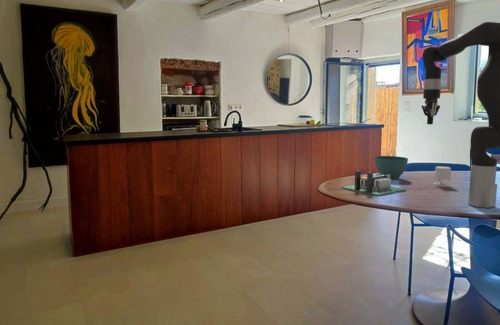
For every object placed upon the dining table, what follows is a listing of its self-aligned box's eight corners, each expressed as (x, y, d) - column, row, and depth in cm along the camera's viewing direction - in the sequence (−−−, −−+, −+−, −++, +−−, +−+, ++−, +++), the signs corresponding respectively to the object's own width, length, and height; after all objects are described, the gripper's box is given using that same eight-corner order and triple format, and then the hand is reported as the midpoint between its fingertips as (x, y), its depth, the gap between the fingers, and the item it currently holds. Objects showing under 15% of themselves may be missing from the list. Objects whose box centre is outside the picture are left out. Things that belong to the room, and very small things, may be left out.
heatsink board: (405, 190, 196) (406, 171, 195) (377, 196, 184) (378, 175, 182) (369, 184, 214) (370, 166, 213) (342, 188, 202) (342, 169, 200)
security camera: (450, 187, 205) (451, 168, 204) (435, 186, 206) (436, 168, 205) (446, 185, 211) (447, 166, 210) (432, 184, 213) (433, 166, 211)
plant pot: (408, 177, 236) (409, 156, 234) (405, 182, 220) (406, 160, 218) (377, 174, 244) (378, 155, 243) (371, 179, 228) (372, 158, 227)
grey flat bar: (387, 175, 200) (367, 178, 191) (387, 177, 200) (367, 180, 192) (379, 174, 204) (359, 177, 195) (379, 176, 204) (359, 179, 195)
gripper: (431, 88, 185) (429, 124, 188) (446, 88, 193) (444, 124, 195) (417, 88, 192) (415, 124, 194) (432, 89, 199) (430, 123, 201)
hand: (429, 124), depth 195 cm, fingers closed
